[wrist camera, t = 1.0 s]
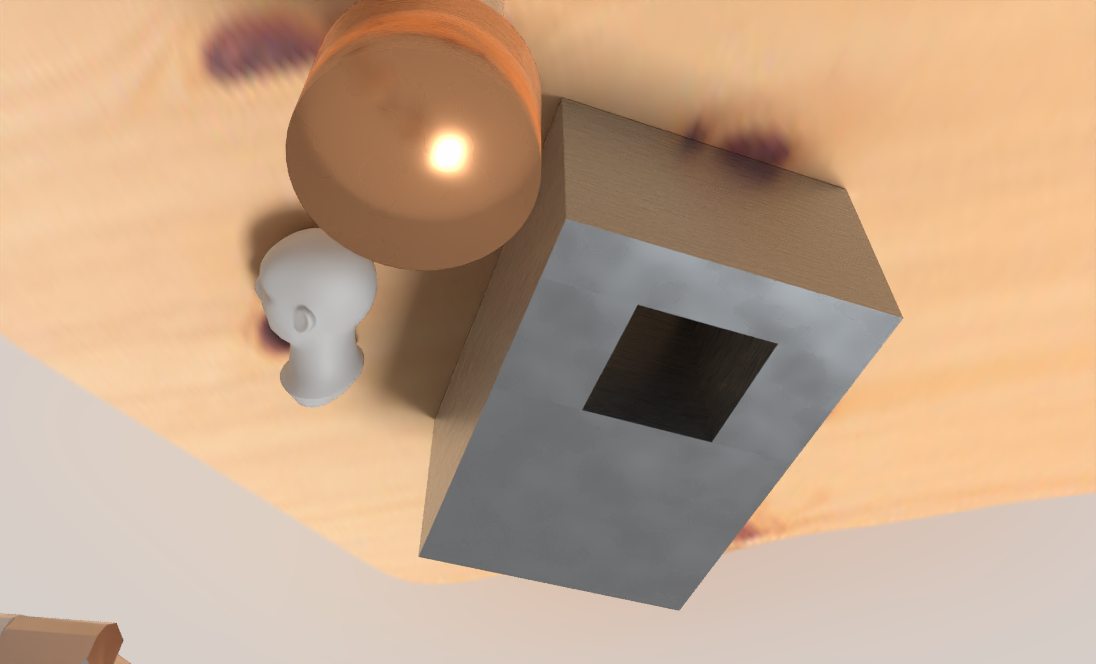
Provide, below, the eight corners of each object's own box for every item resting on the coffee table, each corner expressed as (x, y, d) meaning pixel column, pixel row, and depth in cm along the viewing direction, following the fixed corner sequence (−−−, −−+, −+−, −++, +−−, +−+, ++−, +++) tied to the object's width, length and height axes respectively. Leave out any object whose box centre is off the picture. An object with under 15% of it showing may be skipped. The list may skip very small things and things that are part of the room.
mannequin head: (289, 187, 40) (402, 232, 40) (274, 333, 45) (375, 375, 44) (232, 236, 37) (356, 285, 36) (223, 389, 41) (332, 434, 41)
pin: (333, 58, 35) (267, 233, 27) (374, -127, 31) (311, 10, 23) (507, 113, 36) (497, 295, 28) (568, -57, 32) (577, 97, 24)
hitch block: (434, 420, 47) (418, 556, 41) (562, 97, 36) (566, 218, 30) (662, 474, 50) (679, 610, 43) (846, 189, 39) (902, 317, 32)
